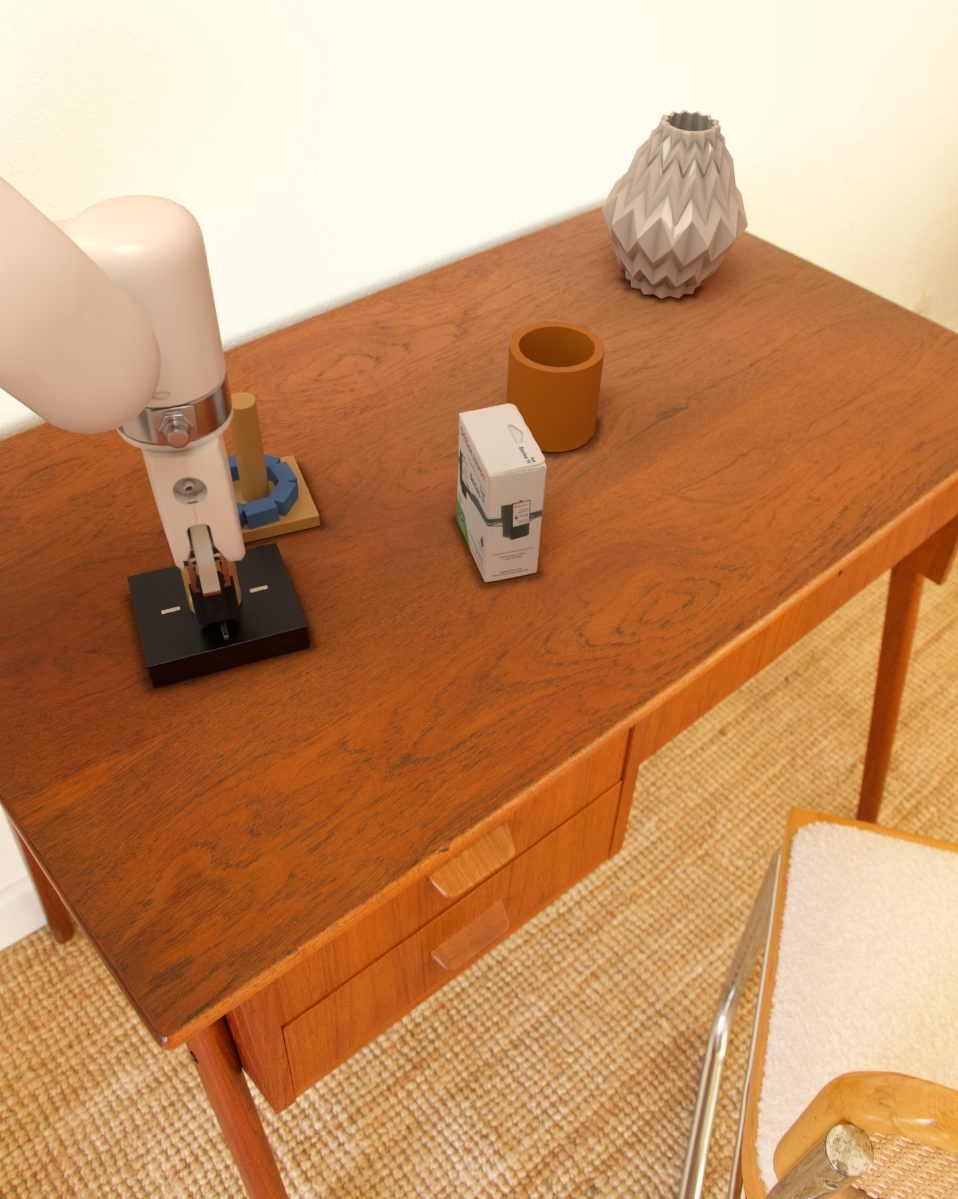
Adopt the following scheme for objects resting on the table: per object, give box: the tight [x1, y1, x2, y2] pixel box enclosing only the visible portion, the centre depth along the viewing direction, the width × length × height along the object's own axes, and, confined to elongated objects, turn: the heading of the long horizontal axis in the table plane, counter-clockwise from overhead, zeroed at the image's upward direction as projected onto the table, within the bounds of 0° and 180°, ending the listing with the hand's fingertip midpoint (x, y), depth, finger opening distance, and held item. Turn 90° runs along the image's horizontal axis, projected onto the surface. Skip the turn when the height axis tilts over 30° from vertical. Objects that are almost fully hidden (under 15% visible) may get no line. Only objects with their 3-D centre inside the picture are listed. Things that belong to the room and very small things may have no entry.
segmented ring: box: [228, 453, 298, 529], centre depth 89 cm, size 8×8×2 cm
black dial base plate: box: [126, 542, 311, 689], centre depth 80 cm, size 12×10×3 cm
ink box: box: [456, 403, 548, 583], centre depth 84 cm, size 9×5×12 cm, turn 17°
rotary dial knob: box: [180, 545, 242, 613], centre depth 77 cm, size 4×4×5 cm
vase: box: [601, 109, 749, 300], centre depth 114 cm, size 16×16×18 cm
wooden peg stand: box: [229, 391, 321, 544], centre depth 87 cm, size 9×9×11 cm
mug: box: [506, 321, 606, 453], centre depth 98 cm, size 9×12×9 cm
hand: (214, 595), depth 79 cm, fingers closed on rotary dial knob, 4 cm apart
